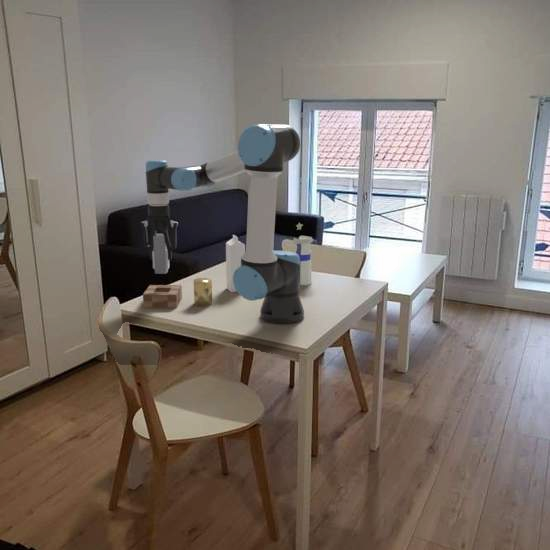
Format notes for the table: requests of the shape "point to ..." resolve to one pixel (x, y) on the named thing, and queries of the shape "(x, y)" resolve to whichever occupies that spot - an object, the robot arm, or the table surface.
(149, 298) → the socket block
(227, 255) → the milk
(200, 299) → the round bit
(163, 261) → the square bit
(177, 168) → the robot arm
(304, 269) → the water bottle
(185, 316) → the table surface
